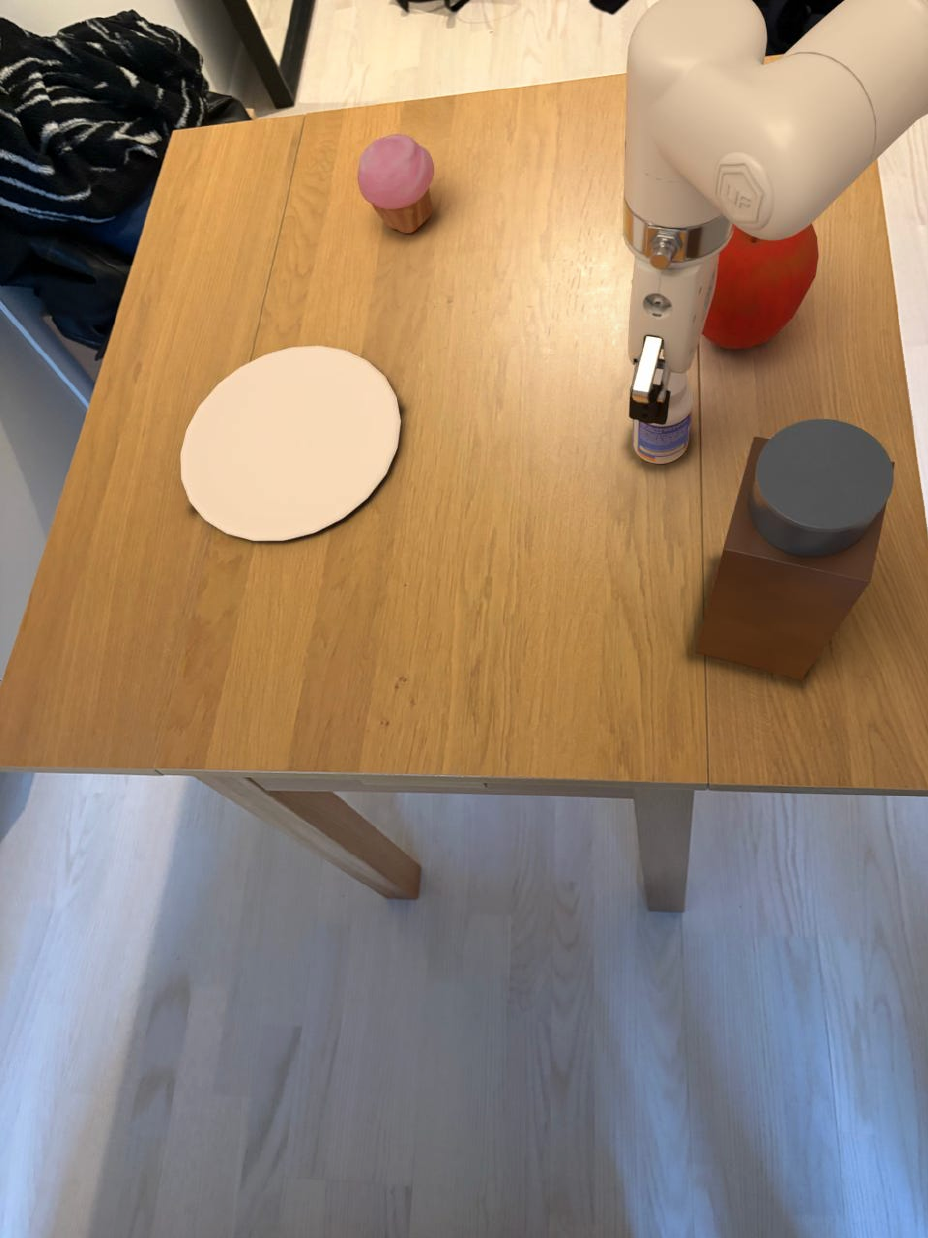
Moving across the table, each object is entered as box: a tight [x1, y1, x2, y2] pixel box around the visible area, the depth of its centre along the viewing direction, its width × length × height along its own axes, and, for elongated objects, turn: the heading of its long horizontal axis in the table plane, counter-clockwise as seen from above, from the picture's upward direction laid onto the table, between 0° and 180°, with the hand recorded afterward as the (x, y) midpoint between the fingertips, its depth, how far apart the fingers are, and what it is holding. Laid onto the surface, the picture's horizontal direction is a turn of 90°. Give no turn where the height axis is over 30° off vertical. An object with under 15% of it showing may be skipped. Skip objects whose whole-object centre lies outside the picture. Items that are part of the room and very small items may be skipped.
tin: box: [748, 418, 895, 557], centre depth 50 cm, size 8×8×4 cm
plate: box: [179, 345, 402, 542], centre depth 86 cm, size 25×25×1 cm
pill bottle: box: [632, 369, 695, 465], centre depth 74 cm, size 5×5×10 cm
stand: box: [694, 435, 896, 681], centre depth 61 cm, size 9×9×20 cm
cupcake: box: [357, 133, 435, 234], centre depth 92 cm, size 9×9×10 cm
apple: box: [701, 222, 820, 350], centre depth 75 cm, size 12×12×14 cm
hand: (662, 373), depth 69 cm, fingers open, 9 cm apart
